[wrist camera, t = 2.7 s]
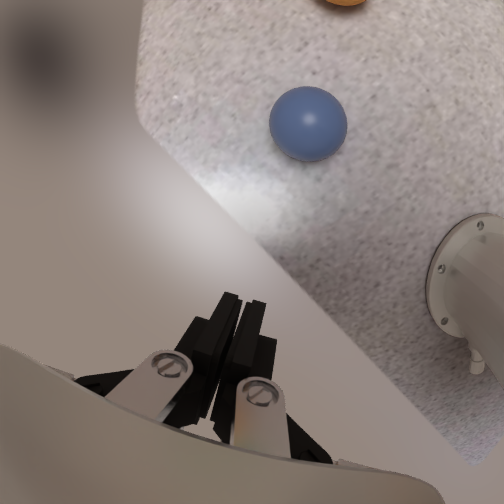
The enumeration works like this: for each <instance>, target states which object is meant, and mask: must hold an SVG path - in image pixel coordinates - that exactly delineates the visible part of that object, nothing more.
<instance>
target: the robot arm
mask: <svg viewBox="0 0 504 504" xmlns="http://www.w3.org/2000/svg"><path fill="white" fill-rule="evenodd" d="M438 267H439V268H438ZM426 298H427V304H428V308H429V311H430V313H431V316H432V318H433V319H434V321H435V322H436V324H437V325H438V326H439V327H440V328H441V329H442V330H443V331H444V332H445V333H447V334H449V335H451V336H454V337H457V338H466V339H467V341H468V342H469V346H468V347H469V350H471V355H470V363H469V371H470V373H472V374H476V375H477V374H480V373H482V372H483V371H484V368H485V363H486V364H487V365H488V367H489V368H490V370H491V371H492V373H493V374H494V376H495V377H496V379H497V380H498V382H499V383H500V385H501V386H502V388H503V389H504V218H502V217H500V216H497V215H494V214H478V215H474V216H471V217H469V218H467V219H465V220H463V221H462V222H461V223H459V224H458V225H457V226H456V227H454V228H453V229H452V230H451V232H450V233H449V234H448V235H447V236H446V237H445V238H444V240H443V242H442V243H441V245H440V246H439V248H438V249H437V251H436V254H435V256H434V258H433V260H432V263H431V266H430V269H429V272H428V278H427V284H426ZM241 305H242V300H240V299H238V295H235V294H232V293H228V292H224V294H223V296H222V298H221V300H220V302H219V303H218V305H217V307H216V309H215V311H214V312H213V314H212V316H211V318H210V319H209V320H207V319H204V318H201V317H198V316H197V317H195V318H194V320H193V321H192V323H191V324H190V326H189V328H188V329H187V331H186V332H185V334H184V335H183V337H182V338H181V340H180V341H179V343H178V345H177V346H176V348H175V349H174V351H173V350H159V351H156V352H154V353H152V354H151V355H149V356H148V357H147V358H146V359H145V360H144V361H143V362H142V363H141V364H140V365H139V366H138V367H137V368H135V369H132V370H125V371H119V372H112V373H104V374H97V375H89V376H84V377H80V378H78V379H75V378H74V375H73V374H70V373H67V372H64V371H61V370H58V369H55V368H52V367H50V366H47V365H44V364H42V363H40V362H38V361H37V360H35V359H33V358H31V357H30V356H27V355H26V354H24V353H22V352H20V351H18V350H16V349H13V348H11V347H9V346H6V345H4V344H0V504H445V502H444V500H443V498H442V496H441V494H440V493H439V491H438V490H437V489H436V488H435V487H433V486H432V485H431V484H429V483H427V482H425V481H423V480H421V479H417V478H415V477H412V476H409V475H406V474H401V473H397V472H392V471H385V470H380V469H376V468H372V467H368V466H364V465H360V464H357V463H353V462H349V461H346V460H343V459H339V460H338V461H334V460H332V459H331V457H330V456H329V454H328V453H327V452H326V451H325V450H324V449H323V448H322V447H321V446H320V445H318V444H317V443H316V442H315V441H314V440H313V439H312V438H311V437H310V436H309V435H308V434H307V433H306V432H305V431H304V430H303V429H302V428H301V427H300V426H299V425H297V423H296V422H295V421H294V420H293V419H291V417H290V416H289V415H288V414H287V413H286V408H285V399H284V394H283V391H282V390H281V388H280V387H279V386H278V385H277V384H276V383H274V382H273V381H271V379H272V372H273V365H274V359H275V352H276V344H277V339H273V338H269V337H266V336H262V335H259V333H260V328H261V324H262V320H263V316H264V312H265V307H266V303H263V302H260V301H256V300H253V301H252V303H250V302H246V305H245V308H244V311H243V313H242V316H241V319H240V322H239V324H238V327H237V329H236V325H237V321H238V317H239V313H240V309H241ZM235 329H236V332H235ZM234 333H235V335H234ZM219 381H220V382H219ZM218 383H219V386H218ZM217 386H218V390H217V394H216V398H215V402H214V406H213V410H212V414H211V417H210V420H211V421H214V422H215V424H214V427H213V430H214V431H215V433H216V434H217V435H218V437H219V438H220V439H221V440H220V442H218V441H215V440H211V439H208V438H205V437H202V436H198V435H195V434H192V433H189V432H186V431H184V430H183V429H184V426H187V425H191V424H195V425H197V423H198V421H199V418H200V417H201V418H204V419H205V418H206V416H207V413H208V410H209V408H210V405H211V402H212V400H213V397H214V394H215V391H216V389H217Z"/></svg>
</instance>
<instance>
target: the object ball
mask: <svg viewBox="0 0 504 504" xmlns="http://www.w3.org/2000/svg"><path fill="white" fill-rule="evenodd" d="M327 1H329V2H331V3H334V4H337V5H343V6H351V5H357V4H360V3H362V2H364V1H366V0H327Z"/></svg>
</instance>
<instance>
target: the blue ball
mask: <svg viewBox="0 0 504 504" xmlns="http://www.w3.org/2000/svg"><path fill="white" fill-rule="evenodd" d="M269 126H270V131H271V135H272V137H273V139H274V141H275V143H276V144H277V146H278V147H279V148H280V149H281V150H282V151H283V152H284V153H286V154H287V155H289V156H290V157H292V158H295V159H297V160H301V161H310V162H311V161H319V160H322V159H325V158H327V157H329V156H331V155H332V154H334V153H335V152H336V151H337V150H338V149H339V148H340V146H341V145H342V143H343V142H344V139H345V137H346V133H347V118H346V114H345V112H344V109H343V107H342V106H341V104H340V103H339V101H338V100H337V99H336V98H335V97H334V96H333V95H331V94H330V93H328V92H327V91H325V90H322V89H320V88H316V87H310V86H304V87H298V88H294V89H291V90H289V91H287V92H286V93H284V94H283V95H282V96H281V97H280V98H279V99H278V100H277V101H276V102H275V104H274V106H273V108H272V110H271V113H270V119H269Z"/></svg>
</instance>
